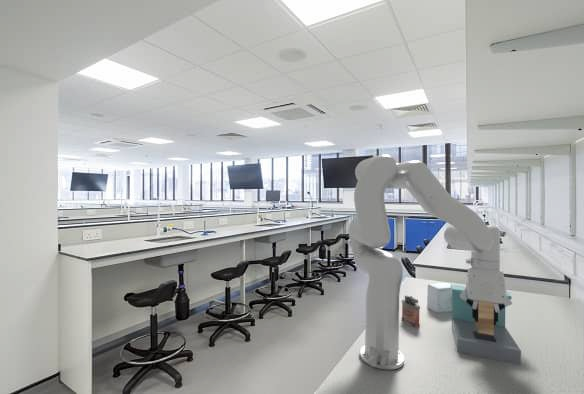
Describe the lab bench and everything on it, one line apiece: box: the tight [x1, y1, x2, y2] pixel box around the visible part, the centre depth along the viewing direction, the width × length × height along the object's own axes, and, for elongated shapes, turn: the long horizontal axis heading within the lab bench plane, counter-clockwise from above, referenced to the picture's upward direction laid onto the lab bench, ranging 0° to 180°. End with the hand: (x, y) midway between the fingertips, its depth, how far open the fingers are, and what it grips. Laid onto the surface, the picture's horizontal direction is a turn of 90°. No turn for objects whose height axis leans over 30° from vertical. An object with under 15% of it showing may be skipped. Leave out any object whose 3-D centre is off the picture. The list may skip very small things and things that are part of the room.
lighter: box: [401, 295, 421, 328], centre depth 110 cm, size 8×3×10 cm, turn 21°
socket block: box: [451, 284, 522, 365], centre depth 95 cm, size 18×17×16 cm
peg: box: [476, 301, 494, 336], centre depth 91 cm, size 4×4×10 cm
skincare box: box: [426, 282, 452, 314], centre depth 124 cm, size 10×6×10 cm, turn 107°
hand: (484, 321), depth 91 cm, fingers closed on peg, 4 cm apart
